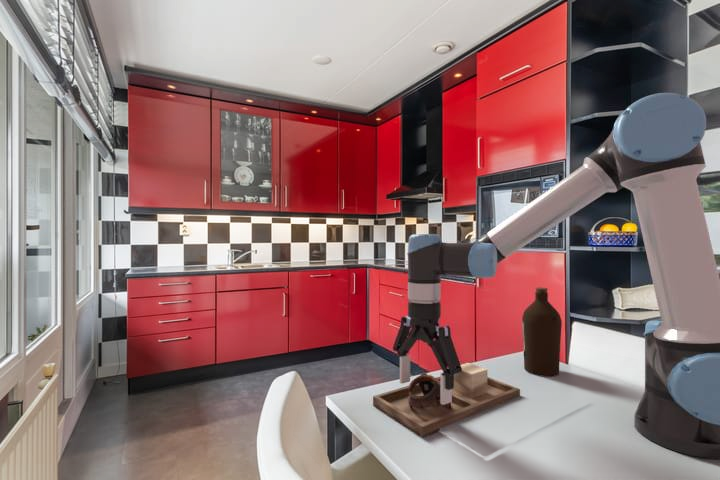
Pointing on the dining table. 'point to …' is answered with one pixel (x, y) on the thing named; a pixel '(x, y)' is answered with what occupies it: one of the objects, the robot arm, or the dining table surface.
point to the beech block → (471, 380)
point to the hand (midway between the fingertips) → (424, 392)
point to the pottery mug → (425, 392)
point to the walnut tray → (440, 406)
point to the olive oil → (541, 336)
